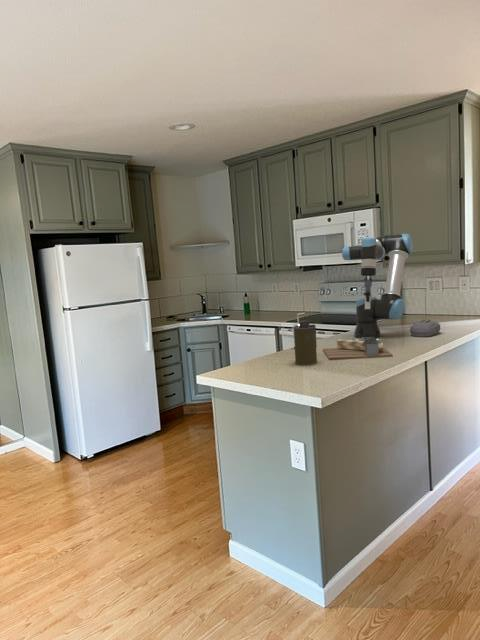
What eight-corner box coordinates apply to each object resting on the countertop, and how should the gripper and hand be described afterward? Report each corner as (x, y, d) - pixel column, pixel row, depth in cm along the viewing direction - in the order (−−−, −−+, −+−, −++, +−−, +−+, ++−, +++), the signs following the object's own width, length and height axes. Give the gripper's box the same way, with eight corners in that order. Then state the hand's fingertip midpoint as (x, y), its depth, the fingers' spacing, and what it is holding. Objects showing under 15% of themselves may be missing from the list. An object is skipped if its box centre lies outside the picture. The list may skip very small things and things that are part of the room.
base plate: (322, 350, 253) (322, 348, 253) (380, 347, 252) (380, 345, 252) (329, 360, 229) (329, 358, 229) (392, 356, 228) (392, 354, 228)
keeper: (361, 351, 240) (361, 337, 239) (372, 350, 240) (372, 336, 239) (366, 355, 229) (366, 341, 228) (378, 355, 229) (378, 340, 228)
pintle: (374, 341, 237) (374, 338, 237) (379, 341, 237) (379, 338, 236) (375, 342, 234) (375, 339, 234) (381, 342, 234) (381, 339, 234)
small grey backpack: (418, 331, 292) (405, 337, 277) (418, 318, 291) (404, 322, 276) (444, 332, 282) (431, 338, 267) (444, 318, 281) (431, 323, 266)
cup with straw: (303, 345, 270) (301, 310, 268) (310, 348, 262) (308, 311, 259) (289, 347, 268) (287, 311, 265) (296, 350, 259) (294, 313, 257)
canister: (303, 366, 220) (301, 323, 217) (290, 362, 229) (288, 321, 227) (322, 362, 225) (320, 320, 222) (309, 359, 234) (307, 318, 232)
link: (385, 350, 236) (384, 342, 236) (380, 352, 232) (380, 344, 232) (341, 346, 253) (340, 339, 252) (336, 348, 249) (335, 340, 248)
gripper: (361, 270, 263) (360, 309, 263) (360, 265, 239) (359, 308, 239) (375, 270, 261) (374, 309, 261) (376, 265, 237) (375, 308, 237)
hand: (367, 308), depth 250 cm, fingers open, 13 cm apart
